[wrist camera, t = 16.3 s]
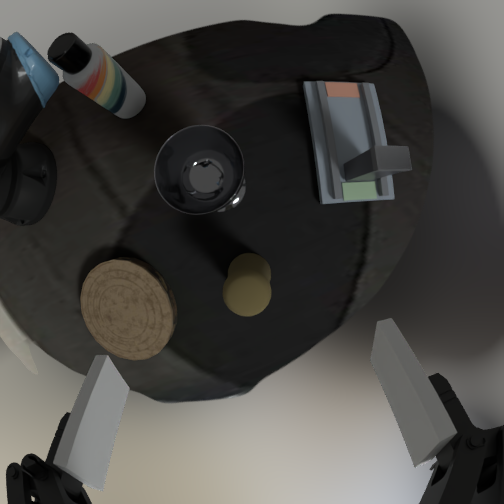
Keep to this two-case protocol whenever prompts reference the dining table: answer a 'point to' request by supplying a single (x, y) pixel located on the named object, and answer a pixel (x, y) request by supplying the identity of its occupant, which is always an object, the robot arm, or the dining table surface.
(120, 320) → the wood slice
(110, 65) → the lotion bottle
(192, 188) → the wine glass
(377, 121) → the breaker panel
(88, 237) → the dining table surface
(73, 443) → the robot arm
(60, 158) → the dining table surface
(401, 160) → the handle
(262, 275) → the cork
